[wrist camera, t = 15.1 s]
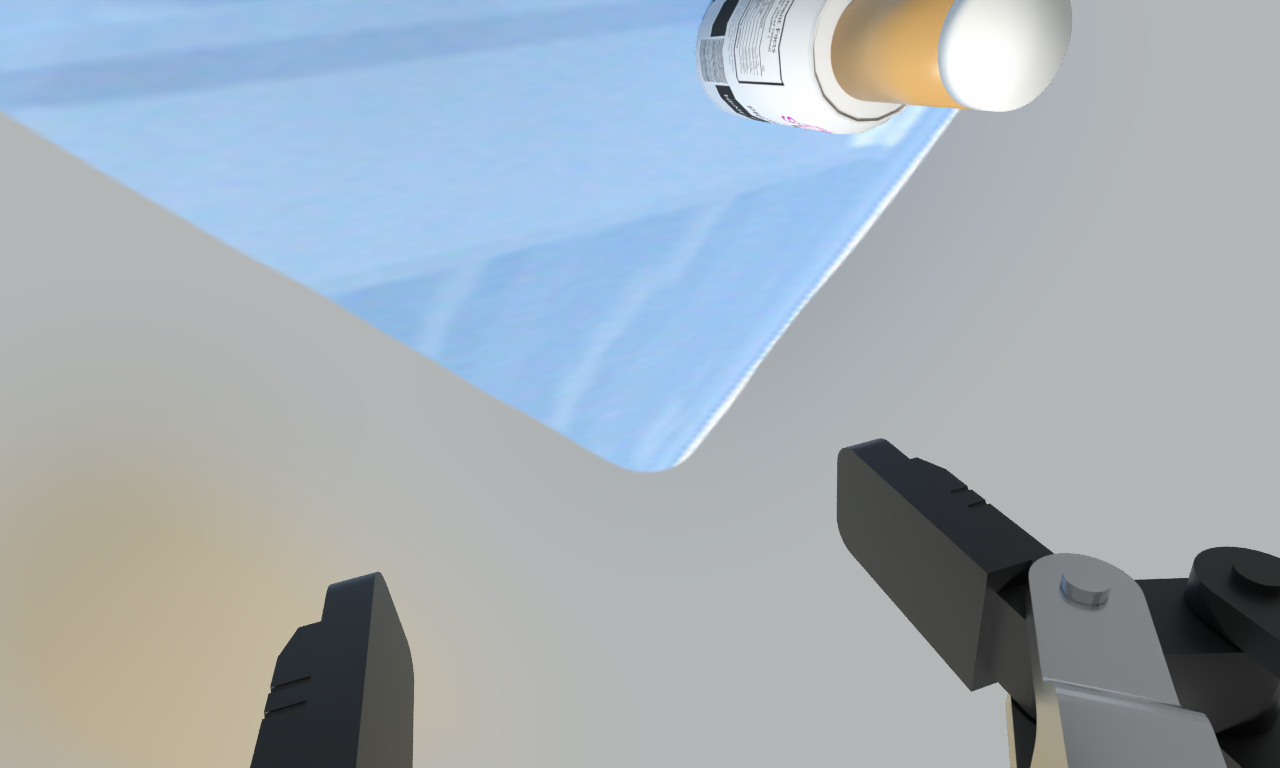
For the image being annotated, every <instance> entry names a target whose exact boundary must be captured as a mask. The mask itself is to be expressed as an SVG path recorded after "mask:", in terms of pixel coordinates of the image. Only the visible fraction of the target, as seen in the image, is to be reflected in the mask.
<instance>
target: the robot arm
mask: <svg viewBox="0 0 1280 768" xmlns="http://www.w3.org/2000/svg"><path fill="white" fill-rule="evenodd" d="M837 523H838V528H839V531H840V534H841V537H842V539H843V542H844V544H845V545H846V547H847V549H848V550H849V551H850V553H851V554H852V555H853V556H854V557H855V558H856V560H857V561H858V562H859V563H860V564H861V565H862V566H863V567H864V569H865V570H866V571H867V572H868V573H869V575H870V576H871V577H872V578H873V579H874V580H875V581H876V583H877V584H878V585H879V586H880V587H881V588H882V589H883V591H884V592H885V593H886V594H887V595H888V596H889V598H890V599H891V600H892V601H893V602H894V603H895V604H896V606H897V607H898V608H899V609H900V610H901V611H902V612H903V614H904V615H905V616H906V617H907V618H908V619H909V621H910V622H911V623H912V624H913V625H914V626H915V627H916V628H917V630H918V631H919V632H920V633H921V634H922V635H923V637H924V638H925V639H926V640H927V641H928V642H929V643H930V645H931V646H932V647H933V648H934V649H935V650H936V652H937V653H938V654H939V655H940V656H941V657H942V659H944V661H945V662H946V663H947V664H948V665H949V667H950V668H951V669H952V670H953V671H954V672H955V673H956V675H957V676H958V677H959V678H960V679H961V680H962V681H963V683H964V684H965V685H966V686H967V687H968V688H969V690H970V691H974V690H977V689H980V688H983V687H985V686H988V685H991V684H994V683H997V682H998V683H999V684H1000V685H1001V686H1002V687H1003V688H1004V689H1005V690H1006V691H1007V692H1008V695H1007V701H1006V715H1007V716H1006V717H1007V729H1008V742H1009V754H1010V767H1011V768H1280V558H1278V557H1275V556H1272V555H1270V554H1266V553H1263V552H1260V551H1256V550H1251V549H1246V548H1239V547H1216V548H1210V549H1207V550H1205V551H1202V552H1201V553H1200V554H1198V555H1197V557H1196V558H1195V560H1194V563H1193V566H1192V569H1191V572H1190V576H1189V578H1178V579H1177V578H1174V579H1149V580H1148V579H1147V580H1133V579H1132V578H1131V577H1130V576H1129V575H1127V574H1126V573H1124V571H1122V570H1120V569H1119V568H1117V567H1115V566H1113V565H1111V564H1109V563H1107V562H1105V561H1102V560H1099V559H1096V558H1092V557H1089V556H1085V555H1080V554H1070V553H1059V554H1054V553H1052V552H1051V551H1050V550H1049V549H1047V548H1046V547H1045V546H1044V545H1042V544H1041V543H1040V542H1038V541H1037V540H1036V539H1035V538H1033V537H1032V536H1031V535H1029V534H1028V533H1027V532H1026V531H1024V530H1023V529H1022V528H1020V527H1019V526H1018V525H1017V524H1015V523H1014V522H1013V521H1011V520H1010V519H1009V518H1008V517H1006V516H1005V515H1003V514H1002V513H1001V512H1000V511H999V510H997V509H996V508H995V507H993V506H992V505H991V504H986V502H985V499H983V498H982V497H981V496H979V495H978V494H977V493H975V492H974V491H973V490H968V487H967V485H965V484H964V483H963V482H961V481H960V480H958V478H956V477H955V476H954V475H952V474H951V473H950V472H949V471H947V470H946V469H944V468H941V467H939V466H936V465H934V464H932V463H929V462H927V461H924V460H922V459H919V458H913V459H909V458H908V457H907V456H905V455H904V454H903V453H902V452H900V451H899V450H898V449H897V448H896V447H894V446H893V445H892V444H891V443H889V442H888V441H887V440H885V439H876V440H872V441H869V442H865V443H861V444H857V445H853V446H850V447H846V448H843V449H841V451H840V452H839V455H838V463H837ZM270 689H271V693H269V694H268V698H267V703H266V706H265V710H264V715H265V719H263V720H262V722H261V727H260V730H259V735H258V739H257V743H256V746H255V750H254V755H253V759H252V763H251V766H250V768H412V762H413V761H412V760H413V707H414V672H413V664H412V658H411V653H410V649H409V645H408V641H407V639H406V636H405V633H404V631H403V628H402V625H401V623H400V620H399V617H398V614H397V612H396V609H395V606H394V604H393V601H392V598H391V595H390V593H389V590H388V587H387V585H386V582H385V580H384V578H383V576H382V574H381V573H380V572H375V573H372V574H368V575H364V576H360V577H357V578H353V579H349V580H346V581H342V582H338V583H335V584H331V585H330V586H329V587H328V590H327V593H326V598H325V604H324V609H323V614H322V620H321V622H317V623H313V624H310V625H306V626H303V627H299V628H298V629H297V631H296V632H295V634H294V635H293V636H292V638H291V639H290V641H289V642H288V643H287V645H286V647H285V648H284V649H283V651H282V652H281V654H280V655H279V656H278V659H277V662H276V667H275V670H274V674H273V678H272V682H271V687H270Z"/></svg>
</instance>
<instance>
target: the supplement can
mask: <svg viewBox="0 0 1280 768" xmlns="http://www.w3.org/2000/svg"><path fill="white" fill-rule="evenodd" d="M854 1H855V0H715V1H714V2H713V3H712V4H711V5H710V6H709V8H708V10H707V12H706V14H705V16H704V18H703V20H702V22H701V24H700V26H699V29H698V35H697V41H696V47H695V58H696V66H697V74H698V77H699V79H700V82H701V84H702V86H703V88H704V90H705V92H706V94H707V96H708V97H709V98H710V99H711V100H712V101H713V102H714V103H715V104H716V105H717V106H718V107H719V108H720V109H721V110H722V111H725V112H727V113H730V114H732V115H735V116H737V117H740V118H745V119H751V120H757V121H763V122H769V123H775V124H781V125H787V126H793V127H799V128H805V129H811V130H817V131H823V132H829V133H834V134H852V133H864V132H866V131H868V130H870V129H872V128H875V127H877V126H879V125H881V124H883V123H886V122H887V121H888V120H889V119H890V118H891V117H892V116H895V115H897V114H899V113H900V112H902V111H903V110H904V109H905V108H906V107H907V106H908V105H907V104H894V103H881V102H868V101H860V100H857V99H855V98H853V97H851V96H849V95H848V94H847V93H846V92H845V91H844V90H843V89H842V88H841V87H840V86H839V84H838V82H837V81H836V79H835V76H834V73H833V70H832V66H831V43H832V37H833V34H834V31H835V28H836V26H837V23H838V21H839V19H840V18H841V16H842V14H843V13H844V11H845V10H846V9H847V8H848V7H849V5H850V4H851V3H853V2H854Z"/></svg>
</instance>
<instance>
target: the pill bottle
mask: <svg viewBox="0 0 1280 768" xmlns="http://www.w3.org/2000/svg"><path fill="white" fill-rule="evenodd" d="M1071 29H1072V9H1071V4H1070V0H855V1H854V2H853V3H851V4H850V5H849V7H848V8H847V9H846V10H845V11H844V13H843V14H842V16H841V18H840V19H839V21H838V23H837V26H836V28H835V31H834V34H833V37H832V43H831V66H832V70H833V73H834V76H835V79H836V81H837V82H838V84H839V86H840V87H841V88H842V89H843V90H844V91H845V92H846V93H847V94H848V95H849V96H851V97H853V98H855V99H857V100H860V101H868V102H881V103H894V104H907V105H920V106H933V107H946V108H959V109H972V110H985V111H999V112H1002V111H1010V110H1014V109H1017V108H1020V107H1022V106H1024V105H1026V104H1028V103H1029V102H1031V101H1032V100H1034V99H1035V98H1036V97H1037V96H1038V95H1040V94H1041V93H1042V91H1043V90H1044V89H1045V88H1046V87H1047V86H1048V85H1049V84H1050V82H1051V81H1052V80H1053V78H1054V76H1055V75H1056V74H1057V72H1058V70H1059V68H1060V66H1061V64H1062V62H1063V59H1064V57H1065V55H1066V52H1067V49H1068V46H1069V41H1070V37H1071Z"/></svg>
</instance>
